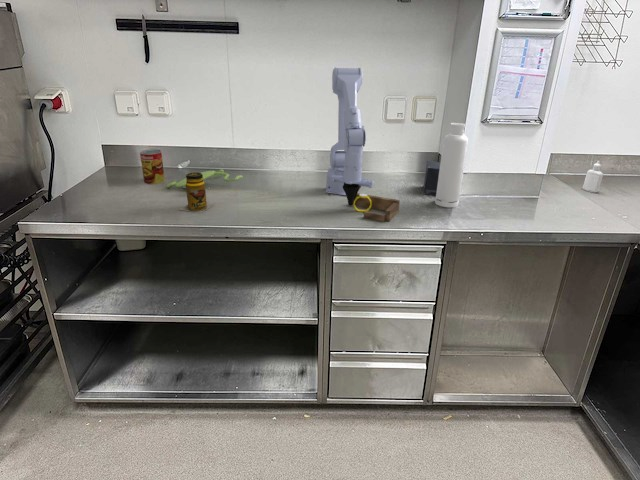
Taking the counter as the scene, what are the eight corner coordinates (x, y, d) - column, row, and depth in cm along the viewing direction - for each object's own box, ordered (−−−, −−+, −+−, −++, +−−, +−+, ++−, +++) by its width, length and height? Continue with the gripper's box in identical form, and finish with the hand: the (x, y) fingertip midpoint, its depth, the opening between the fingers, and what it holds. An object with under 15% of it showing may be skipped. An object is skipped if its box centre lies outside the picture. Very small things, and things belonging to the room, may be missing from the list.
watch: (370, 210, 150) (372, 194, 148) (370, 213, 148) (373, 197, 145) (352, 208, 150) (354, 192, 148) (352, 211, 148) (354, 195, 145)
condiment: (201, 213, 144) (197, 178, 140) (178, 210, 147) (174, 175, 142) (212, 206, 151) (209, 172, 146) (190, 203, 153) (187, 169, 148)
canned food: (140, 181, 174) (135, 151, 169) (157, 177, 180) (152, 148, 175) (152, 185, 170) (148, 155, 165) (169, 181, 176) (165, 151, 171)
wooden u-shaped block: (342, 214, 146) (342, 202, 145) (354, 203, 156) (355, 192, 154) (388, 222, 140) (389, 210, 138) (398, 211, 150) (399, 200, 148)
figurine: (247, 188, 170) (246, 174, 168) (179, 200, 156) (177, 185, 154) (227, 177, 184) (226, 163, 182) (163, 186, 170) (161, 172, 168)
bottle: (437, 198, 163) (448, 121, 151) (460, 202, 159) (472, 123, 148) (432, 205, 156) (443, 124, 144) (455, 208, 153) (468, 127, 141)
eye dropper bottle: (588, 192, 172) (596, 162, 167) (580, 188, 177) (589, 159, 172) (599, 193, 172) (608, 163, 167) (591, 188, 177) (600, 159, 172)
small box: (440, 196, 165) (444, 168, 161) (423, 194, 167) (426, 167, 162) (439, 187, 175) (443, 161, 170) (423, 186, 176) (426, 160, 172)
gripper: (327, 165, 144) (326, 204, 149) (369, 171, 138) (367, 212, 144) (336, 160, 149) (335, 198, 155) (377, 166, 144) (374, 205, 149)
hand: (351, 204), depth 150 cm, fingers closed
